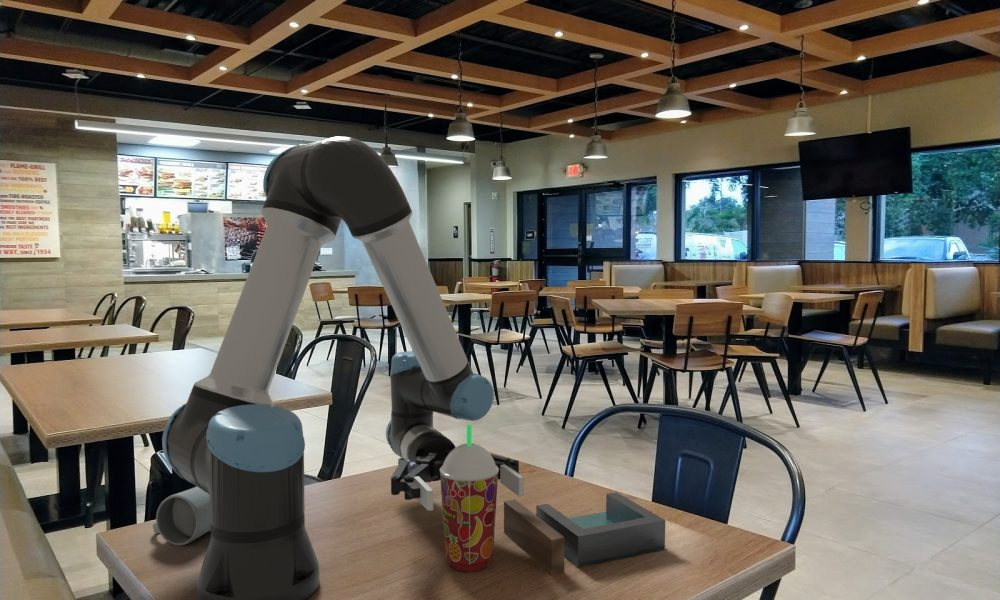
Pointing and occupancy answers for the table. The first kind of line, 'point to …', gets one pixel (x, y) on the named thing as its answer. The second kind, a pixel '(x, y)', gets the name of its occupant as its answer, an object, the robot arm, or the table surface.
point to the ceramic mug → (183, 516)
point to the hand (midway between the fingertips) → (477, 493)
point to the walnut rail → (534, 536)
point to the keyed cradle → (607, 531)
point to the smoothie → (469, 505)
